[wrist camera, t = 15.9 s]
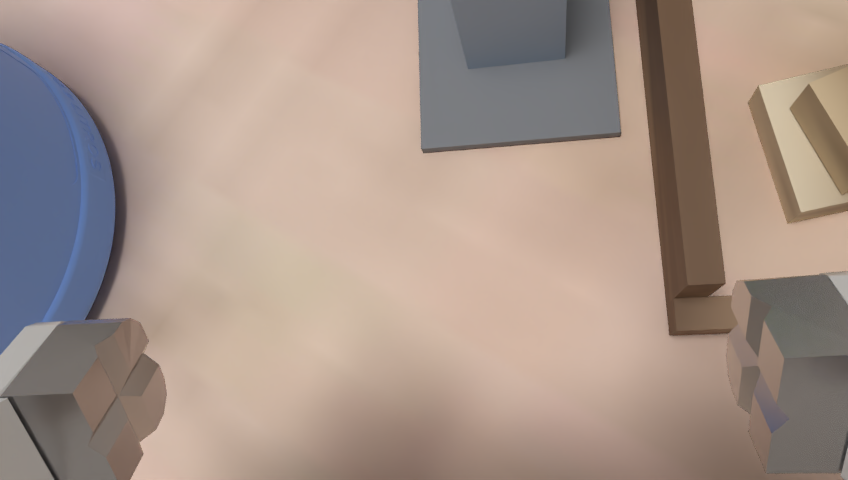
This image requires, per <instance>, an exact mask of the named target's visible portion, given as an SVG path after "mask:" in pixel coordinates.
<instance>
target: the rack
mask: <svg viewBox="0 0 848 480" xmlns="http://www.w3.org/2000/svg"><path fill="white" fill-rule="evenodd" d="M636 7H637V17H638V27H639V37H640V47H641V57H642V67H643V77H644V87H645V96H646V106H647V116H648V126H649V136H650V146H651V156H652V166H653V176H654V186H655V196H656V206H657V216H658V226H659V236H660V246H661V256H662V266H663V276H664V286H665V296H666V305H667V315H668V325H669V335H695V334H720V333H730V332H731V331H732V329H733V328H734V327H735V326H736V325H737V324H738V322H737V319H736V317H735V315H734V313H733V311H732V308H731V301H732V296H714V297H708V296H709V295H711V294H712V293H713V292H715V291H716V290H717V289H719V288H720V287H721V286H723V285H724V284H725V283H726V282H725V273H724V265H723V257H722V248H721V240H720V232H719V224H718V215H717V207H716V199H715V190H714V182H713V174H712V165H711V157H710V149H709V140H708V132H707V124H706V115H705V107H704V99H703V90H702V82H701V74H700V65H699V57H698V49H697V41H696V32H695V24H694V16H693V7H692V0H636Z"/></svg>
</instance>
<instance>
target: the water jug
mask: <svg viewBox="0 0 848 480" xmlns="http://www.w3.org/2000/svg"><path fill="white" fill-rule="evenodd" d="M114 226H115V190H114V181H113V175H112V170H111V165H110V161H109V157H108V154H107V151H106V148H105V145H104V142H103V140H102V137H101V135H100V133H99V131H98V129H97V127H96V125H95V123H94V121H93V120H92V118H91V116H90V115H89V113H88V112H87V110H86V109H85V107H84V106H83V105H82V103H81V102H80V101H79V99H78V98H77V97H76V96H75V95H74V94H73V93H72V92H71V91H70V90H69V89H68V88H67V87H66V86H65V85H64V84H63V83H62V82H61V81H60V80H58V79H57V78H56V77H55V76H53V75H52V74H51V73H49V72H48V71H46V70H45V69H43V68H42V67H40V66H39V65H37V64H36V63H34V62H33V61H31V60H30V59H28V58H27V57H25V56H24V55H22V54H21V53H19V52H17V51H15V50H14V49H12V48H10V47H8V46H6V45H3V44H1V43H0V355H1V354H2V353H3V351H4V350H5V349H6V348H7V347H8V346H9V345H10V343H11V342H12V341H13V340H14V339H15V338H16V337H17V335H18V334H19V333H20V332H21V331H22V330H23V329H24V327H25V326H28V325H31V324H34V323H39V322H55V321H65V322H66V321H73V320H85V318H86V317H87V315H88V313H89V311H90V309H91V307H92V305H93V303H94V301H95V298H96V296H97V294H98V291H99V289H100V286H101V284H102V281H103V278H104V275H105V272H106V268H107V265H108V261H109V257H110V253H111V248H112V242H113V235H114Z"/></svg>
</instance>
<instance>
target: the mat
mask: <svg viewBox="0 0 848 480" xmlns="http://www.w3.org/2000/svg"><path fill="white" fill-rule="evenodd" d="M418 27H419V70H420V113H421V149H422V151H423V153H426V152H438V151H450V150H462V149H474V148H486V147H498V146H511V145H523V144H535V143H547V142H559V141H571V140H583V139H595V138H607V137H619V136H620V133H621V130H620V119H619V108H618V97H617V86H616V75H615V64H614V53H613V42H612V31H611V20H610V9H609V0H567V9H566V45H565V59H559V60H550V61H541V62H531V63H522V64H512V65H503V66H493V67H484V68H475V69H468V67H467V63H466V59H465V55H464V51H463V47H462V44H461V40H460V36H459V32H458V28H457V24H456V20H455V16H454V12H453V8H452V5H451V1H450V0H418Z"/></svg>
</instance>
